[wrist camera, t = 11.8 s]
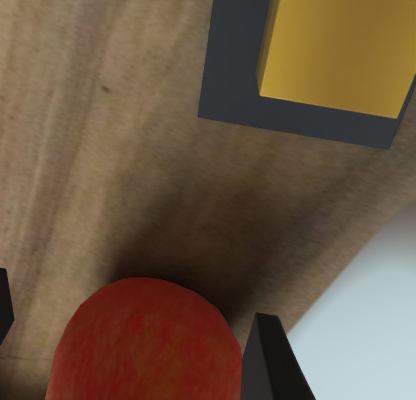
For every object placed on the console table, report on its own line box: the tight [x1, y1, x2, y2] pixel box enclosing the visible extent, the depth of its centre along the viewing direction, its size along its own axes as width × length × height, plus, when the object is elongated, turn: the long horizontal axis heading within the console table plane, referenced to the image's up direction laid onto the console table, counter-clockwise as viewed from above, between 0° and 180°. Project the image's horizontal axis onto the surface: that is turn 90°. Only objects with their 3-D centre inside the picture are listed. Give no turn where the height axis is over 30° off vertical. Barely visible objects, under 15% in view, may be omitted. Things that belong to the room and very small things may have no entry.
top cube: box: [256, 0, 416, 118], centre depth 12 cm, size 4×4×4 cm
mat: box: [198, 0, 416, 150], centre depth 14 cm, size 9×9×1 cm
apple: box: [45, 277, 242, 400], centre depth 19 cm, size 10×10×10 cm
